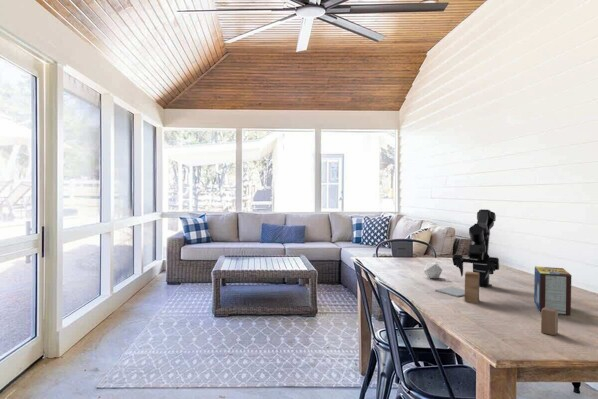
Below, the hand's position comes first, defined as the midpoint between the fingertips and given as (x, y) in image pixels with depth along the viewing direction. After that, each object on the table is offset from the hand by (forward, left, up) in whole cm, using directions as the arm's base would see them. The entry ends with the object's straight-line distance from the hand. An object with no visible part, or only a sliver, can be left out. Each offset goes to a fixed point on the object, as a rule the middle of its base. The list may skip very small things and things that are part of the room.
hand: (473, 277), depth 169 cm
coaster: (-4, -12, -10) cm, 16 cm away
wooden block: (+14, +38, -10) cm, 42 cm away
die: (-20, -38, -10) cm, 44 cm away
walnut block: (+2, +1, -10) cm, 10 cm away
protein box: (-16, +24, -10) cm, 30 cm away
